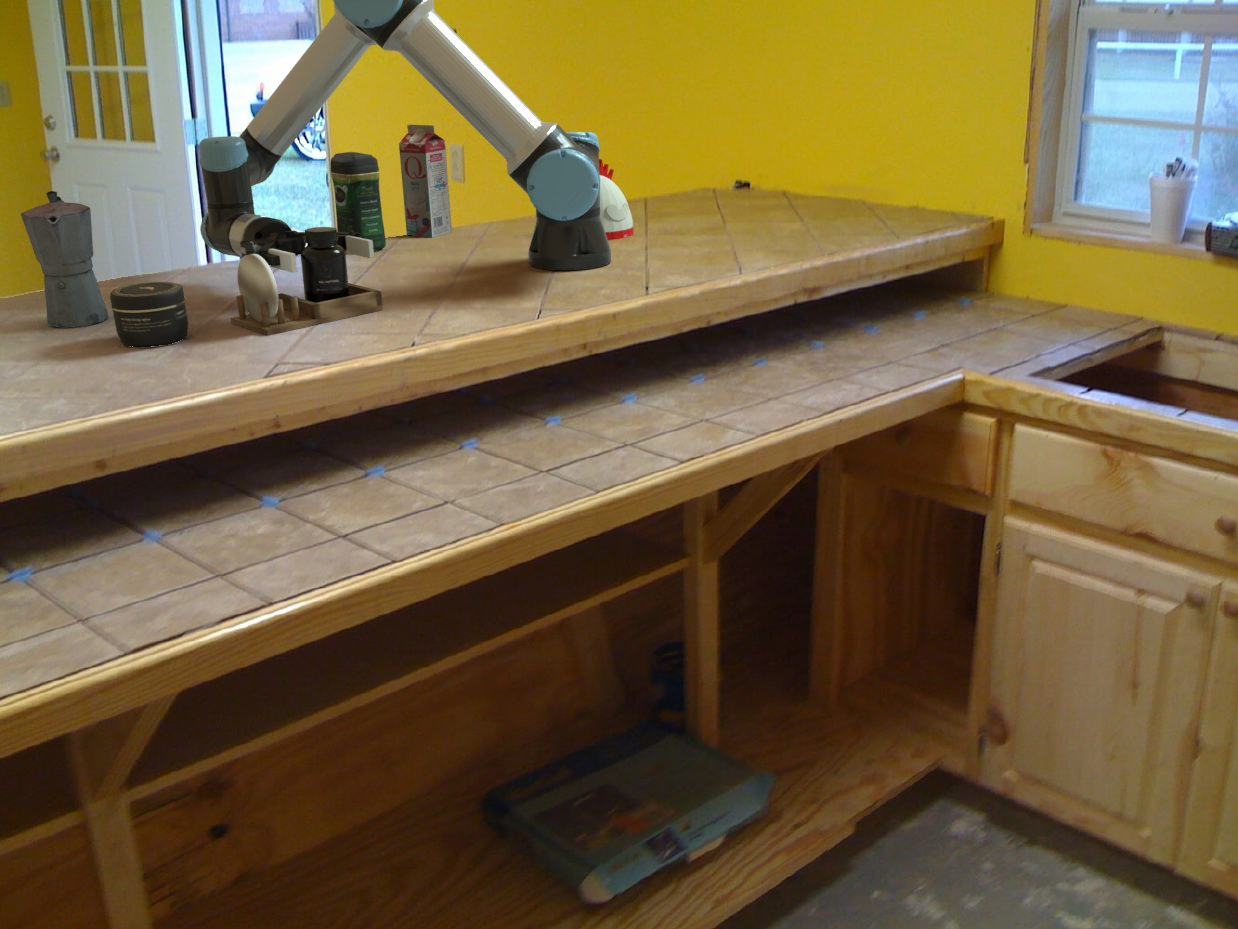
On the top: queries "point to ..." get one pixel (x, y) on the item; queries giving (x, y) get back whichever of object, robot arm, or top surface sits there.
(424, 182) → the juice carton
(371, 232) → the coffee jar
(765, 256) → the top surface
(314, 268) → the supplement bottle
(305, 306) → the dish rack
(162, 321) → the jar
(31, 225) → the moka pot
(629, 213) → the kitchen timer
